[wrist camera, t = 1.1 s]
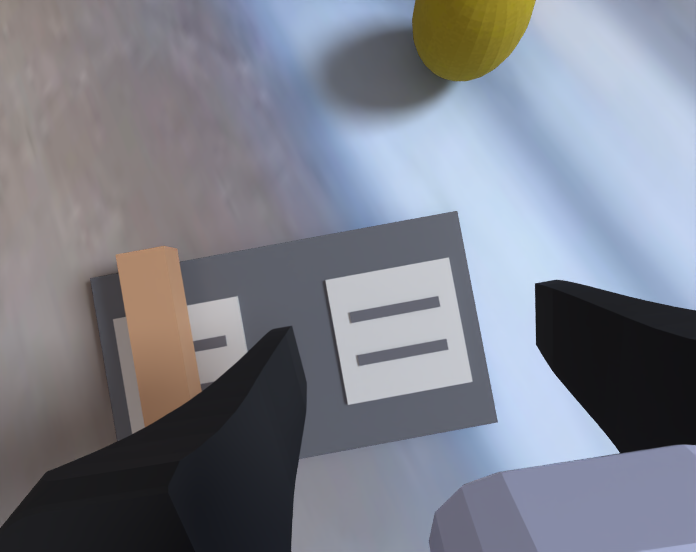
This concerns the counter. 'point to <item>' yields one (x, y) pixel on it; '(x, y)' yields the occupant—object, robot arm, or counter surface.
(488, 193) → the counter surface
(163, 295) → the bar
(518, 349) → the counter surface
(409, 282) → the panel
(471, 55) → the lemon
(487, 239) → the counter surface
